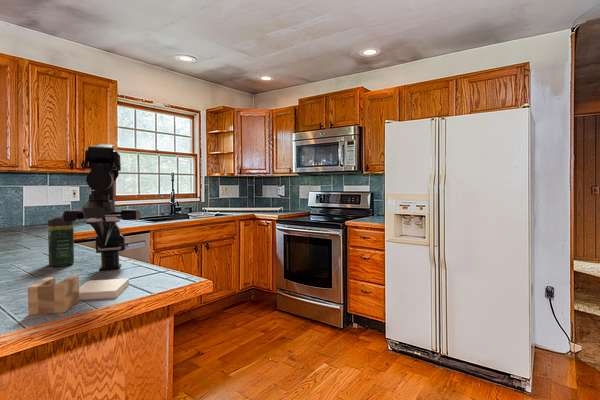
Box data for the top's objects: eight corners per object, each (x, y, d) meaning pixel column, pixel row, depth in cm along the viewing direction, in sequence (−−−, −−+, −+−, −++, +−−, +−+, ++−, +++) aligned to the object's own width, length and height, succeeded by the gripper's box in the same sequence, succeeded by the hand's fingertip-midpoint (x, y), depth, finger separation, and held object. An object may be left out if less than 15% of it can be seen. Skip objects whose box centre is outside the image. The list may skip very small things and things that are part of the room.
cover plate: (88, 280, 102) (128, 278, 104) (89, 288, 102) (129, 286, 104) (70, 293, 90) (116, 290, 92) (70, 302, 90) (116, 299, 92)
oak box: (47, 302, 88) (46, 277, 88) (79, 300, 90) (78, 275, 89) (28, 314, 80) (27, 287, 80) (64, 312, 81) (63, 285, 81)
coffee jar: (76, 265, 130) (74, 216, 129) (50, 268, 125) (48, 217, 124) (72, 260, 137) (71, 214, 137) (47, 263, 132) (46, 215, 132)
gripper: (51, 191, 88) (52, 252, 88) (130, 190, 92) (131, 249, 92) (70, 190, 99) (72, 244, 99) (140, 190, 102) (141, 242, 103)
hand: (103, 245), depth 98 cm, fingers closed
